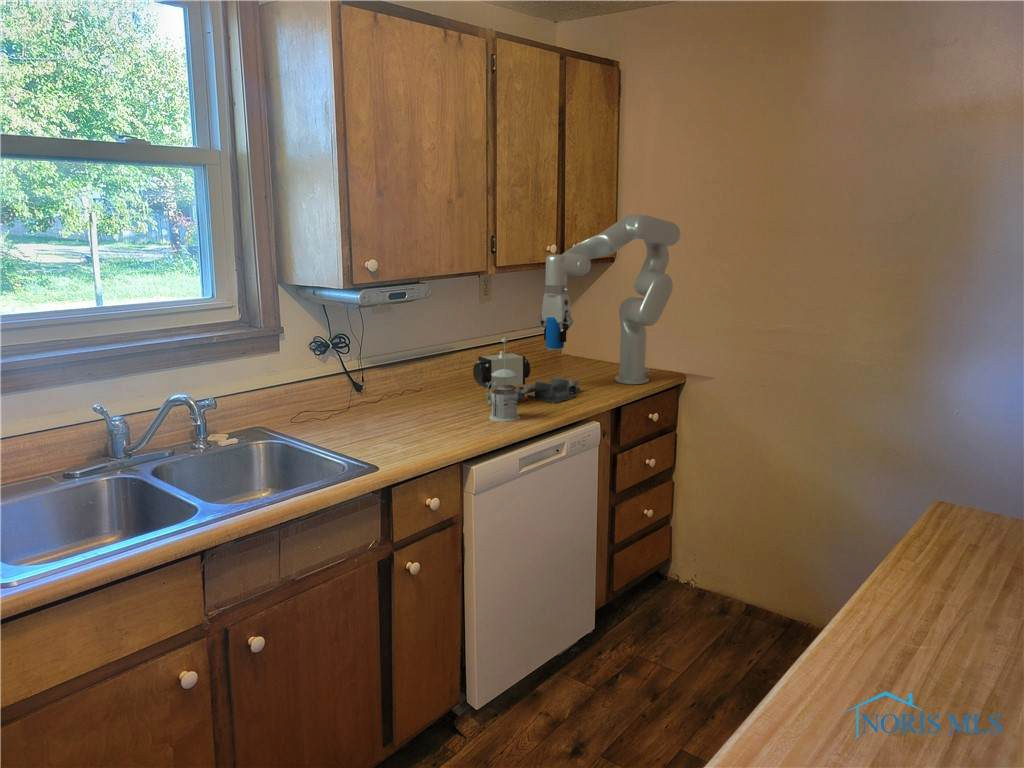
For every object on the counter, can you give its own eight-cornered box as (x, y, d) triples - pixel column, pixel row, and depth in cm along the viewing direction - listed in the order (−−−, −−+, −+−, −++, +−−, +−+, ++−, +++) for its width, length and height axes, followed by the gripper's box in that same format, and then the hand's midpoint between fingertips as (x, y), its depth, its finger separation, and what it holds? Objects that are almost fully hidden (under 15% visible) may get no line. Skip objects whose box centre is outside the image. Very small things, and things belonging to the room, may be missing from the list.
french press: (526, 417, 236) (527, 338, 230) (499, 424, 228) (499, 342, 222) (504, 411, 243) (505, 334, 237) (477, 418, 235) (477, 338, 229)
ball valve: (517, 397, 261) (518, 346, 257) (530, 403, 254) (531, 350, 250) (471, 404, 252) (470, 351, 249) (483, 409, 245) (482, 355, 241)
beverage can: (546, 347, 274) (547, 314, 272) (564, 348, 274) (565, 314, 271) (544, 350, 268) (545, 316, 266) (563, 351, 267) (563, 317, 265)
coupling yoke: (555, 387, 276) (555, 371, 275) (588, 394, 267) (588, 377, 265) (510, 399, 259) (510, 381, 258) (543, 406, 249) (543, 388, 248)
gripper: (582, 291, 263) (580, 342, 267) (544, 287, 275) (544, 336, 279) (567, 292, 258) (566, 345, 262) (530, 289, 270) (530, 339, 274)
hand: (554, 340), depth 270 cm, fingers closed on beverage can, 6 cm apart
